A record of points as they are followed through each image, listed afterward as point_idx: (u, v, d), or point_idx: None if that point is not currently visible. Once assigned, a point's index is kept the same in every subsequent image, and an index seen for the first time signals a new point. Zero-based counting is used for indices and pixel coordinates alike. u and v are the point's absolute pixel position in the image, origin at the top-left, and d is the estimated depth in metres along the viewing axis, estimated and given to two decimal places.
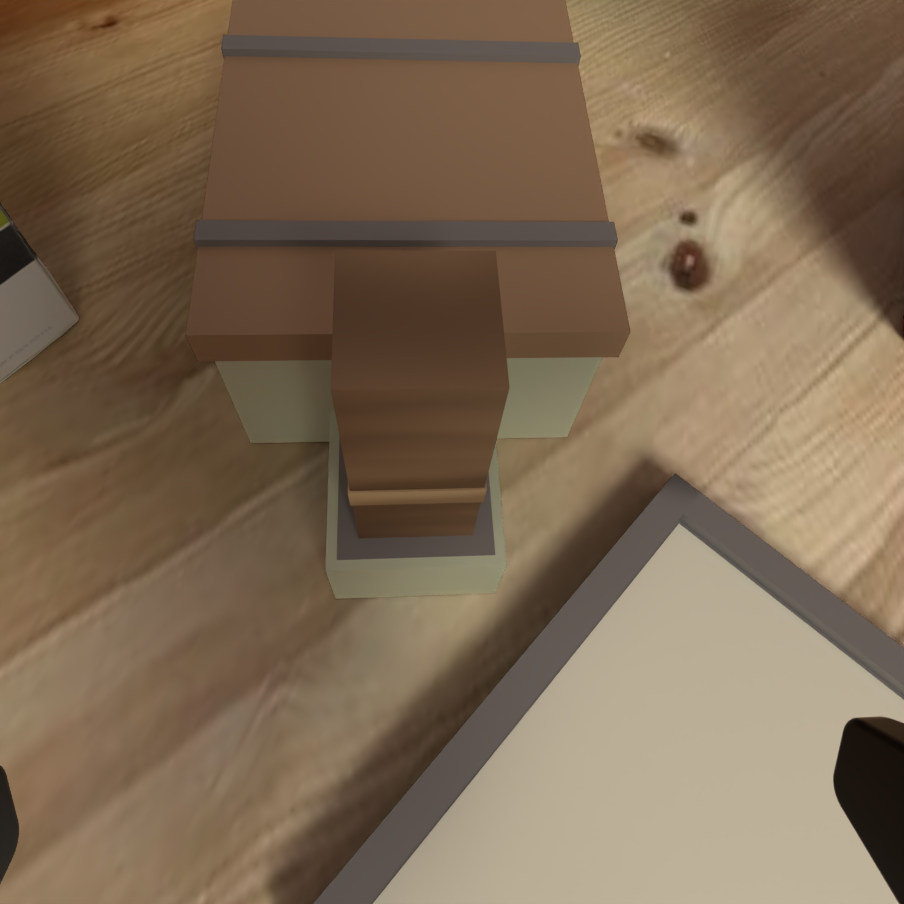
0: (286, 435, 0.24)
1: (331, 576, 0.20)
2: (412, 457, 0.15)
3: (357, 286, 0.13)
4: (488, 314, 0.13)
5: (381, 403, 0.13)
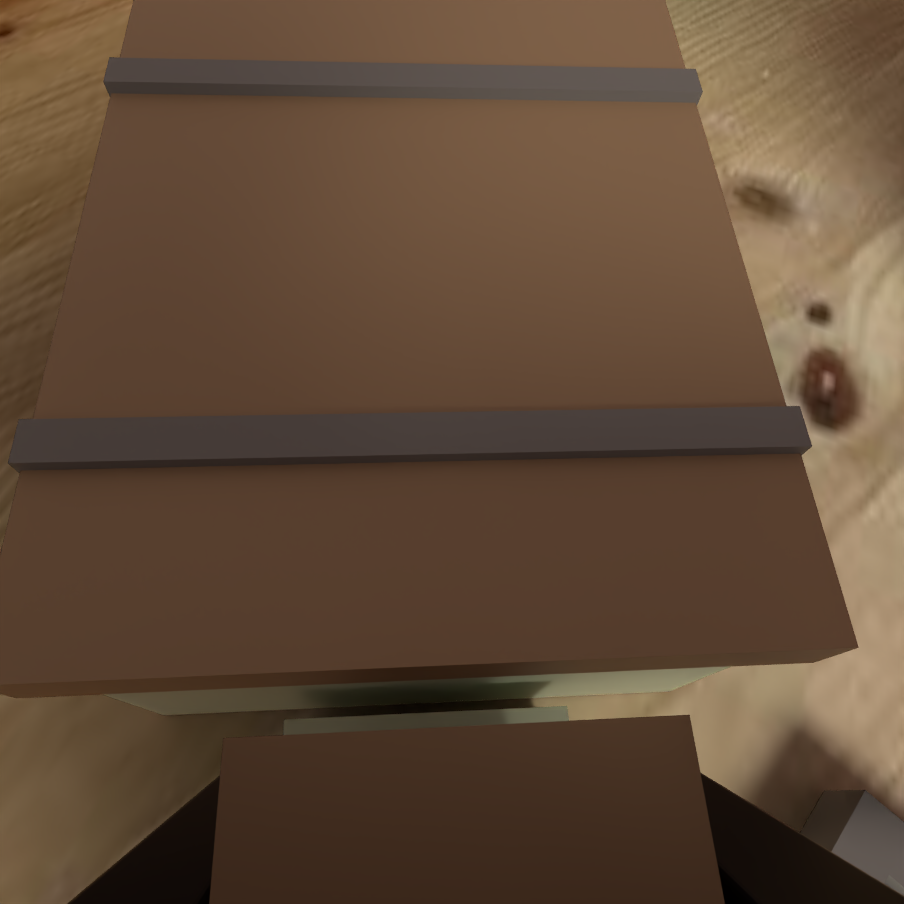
0: (219, 709, 0.15)
1: None
2: None
3: (285, 889, 0.04)
4: None
5: None
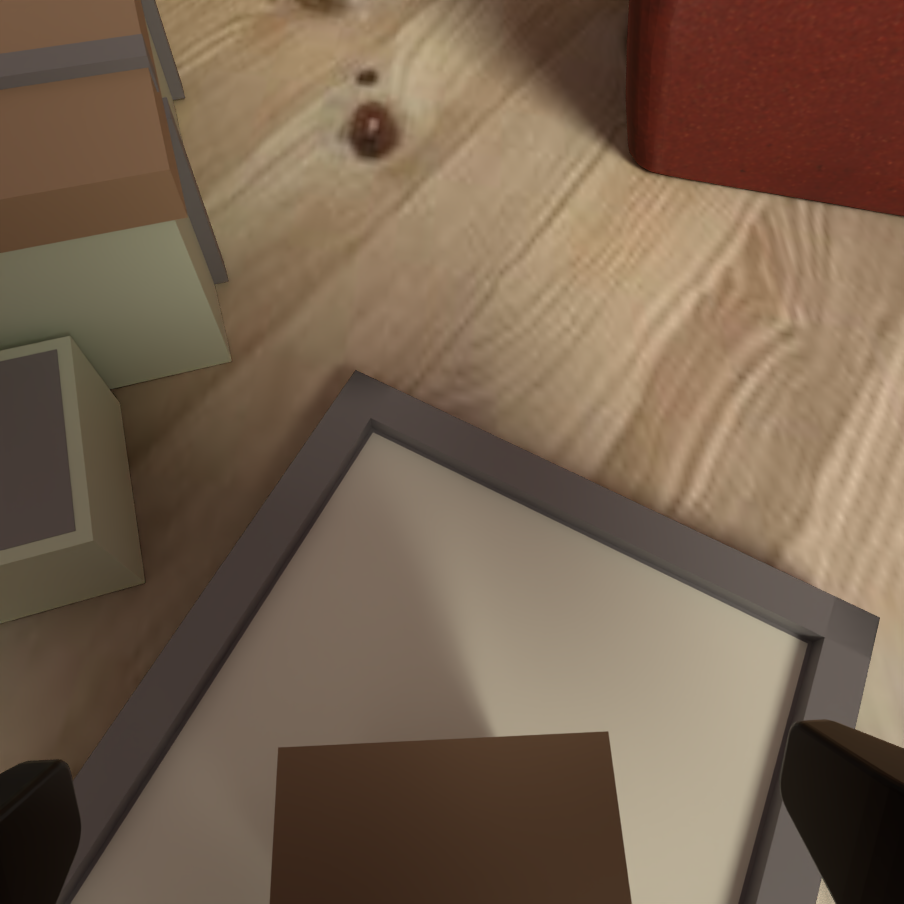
0: None
1: None
2: None
3: (323, 851, 0.06)
4: None
5: None
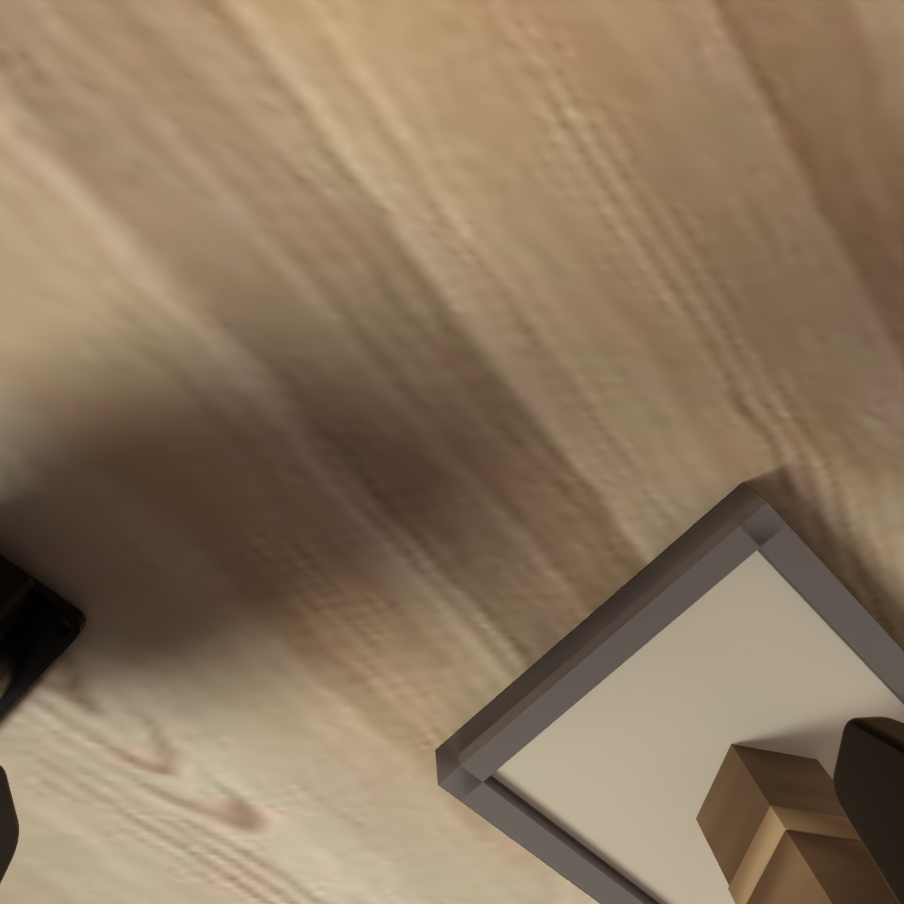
0: None
1: None
2: None
3: None
4: None
5: None
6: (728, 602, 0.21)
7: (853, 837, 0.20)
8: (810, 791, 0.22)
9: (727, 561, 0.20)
